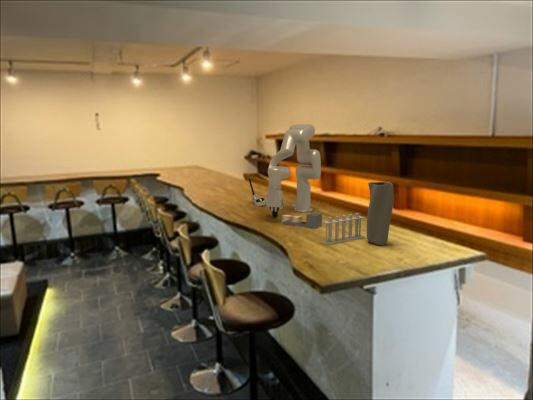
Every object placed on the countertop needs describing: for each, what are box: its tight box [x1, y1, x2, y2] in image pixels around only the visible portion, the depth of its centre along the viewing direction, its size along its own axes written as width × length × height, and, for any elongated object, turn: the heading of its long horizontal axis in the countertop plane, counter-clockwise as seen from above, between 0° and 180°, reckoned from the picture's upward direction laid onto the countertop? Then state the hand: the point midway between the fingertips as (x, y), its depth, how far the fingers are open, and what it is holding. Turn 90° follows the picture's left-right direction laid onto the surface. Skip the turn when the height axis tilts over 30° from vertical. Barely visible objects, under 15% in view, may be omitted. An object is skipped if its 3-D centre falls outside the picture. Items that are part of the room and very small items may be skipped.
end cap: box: [305, 212, 323, 230], centre depth 238 cm, size 6×8×8 cm
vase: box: [366, 181, 395, 246], centre depth 201 cm, size 12×12×30 cm
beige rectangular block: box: [281, 214, 303, 224], centre depth 246 cm, size 12×4×5 cm, turn 57°
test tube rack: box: [320, 212, 366, 246], centre depth 208 cm, size 25×4×13 cm, turn 121°
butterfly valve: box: [247, 177, 266, 207], centre depth 307 cm, size 9×20×17 cm
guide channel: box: [281, 221, 306, 228], centre depth 245 cm, size 16×6×2 cm, turn 58°
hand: (274, 217), depth 252 cm, fingers closed
